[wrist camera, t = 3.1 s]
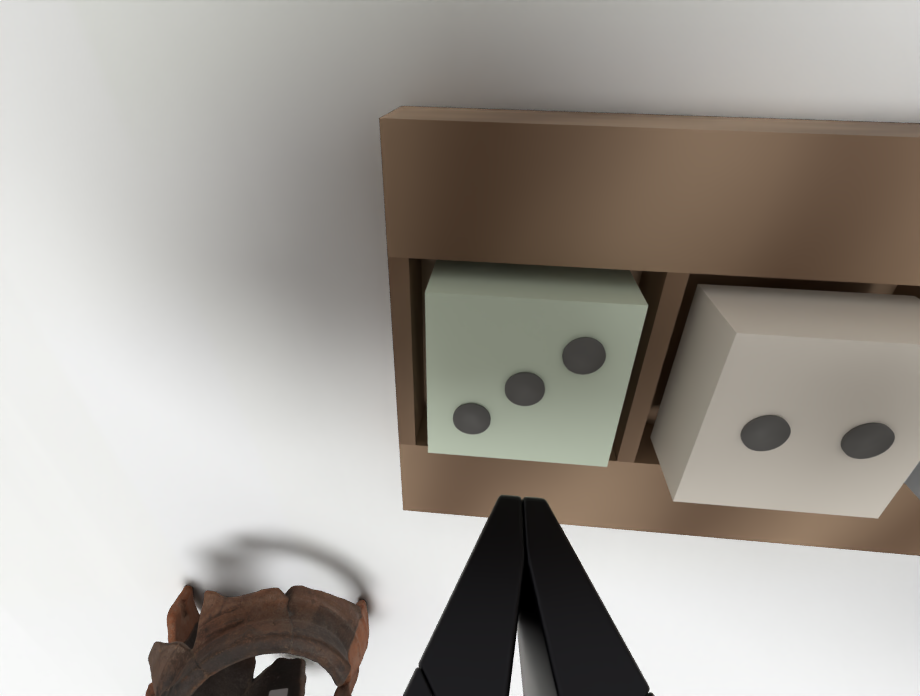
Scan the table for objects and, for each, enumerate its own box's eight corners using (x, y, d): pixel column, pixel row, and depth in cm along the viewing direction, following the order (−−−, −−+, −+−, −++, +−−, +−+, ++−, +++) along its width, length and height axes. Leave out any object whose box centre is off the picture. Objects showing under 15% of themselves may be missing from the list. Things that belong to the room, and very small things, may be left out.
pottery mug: (145, 541, 24) (81, 685, 16) (338, 483, 26) (360, 583, 19) (213, 721, 27) (186, 910, 20) (378, 653, 30) (410, 796, 22)
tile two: (914, 295, 11) (1005, 352, 9) (825, 450, 14) (880, 521, 12) (697, 284, 12) (738, 335, 10) (650, 437, 14) (674, 504, 12)
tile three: (626, 264, 13) (649, 307, 11) (594, 411, 15) (607, 469, 13) (438, 254, 13) (424, 294, 11) (438, 400, 16) (427, 455, 14)
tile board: (1300, 136, 11) (1485, 157, 9) (977, 504, 17) (1040, 566, 15) (402, 105, 12) (378, 118, 10) (415, 458, 18) (403, 510, 16)
